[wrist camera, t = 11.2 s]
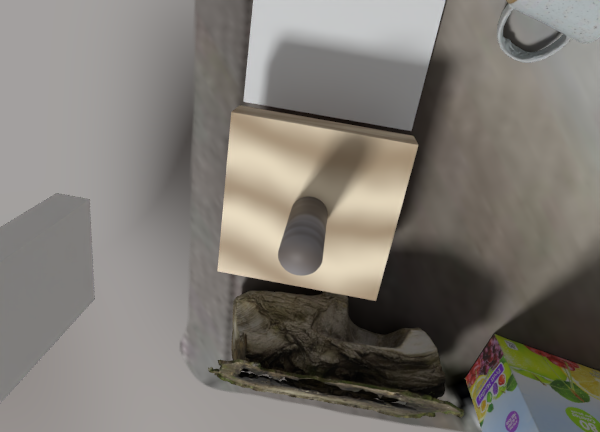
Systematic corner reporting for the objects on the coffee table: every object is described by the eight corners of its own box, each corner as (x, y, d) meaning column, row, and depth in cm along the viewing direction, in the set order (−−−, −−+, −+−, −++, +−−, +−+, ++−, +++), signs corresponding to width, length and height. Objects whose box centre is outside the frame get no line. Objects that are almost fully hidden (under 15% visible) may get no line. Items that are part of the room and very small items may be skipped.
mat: (264, -99, 38) (263, -101, 38) (461, -67, 38) (463, -68, 37) (244, 100, 45) (243, 101, 45) (410, 129, 45) (411, 131, 44)
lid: (239, 105, 41) (203, 134, 31) (413, 135, 40) (434, 176, 30) (225, 255, 47) (191, 320, 37) (374, 283, 47) (380, 357, 37)
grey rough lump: (439, 326, 60) (497, 314, 46) (428, 428, 56) (488, 451, 41) (234, 279, 59) (228, 252, 45) (208, 379, 55) (192, 385, 41)
